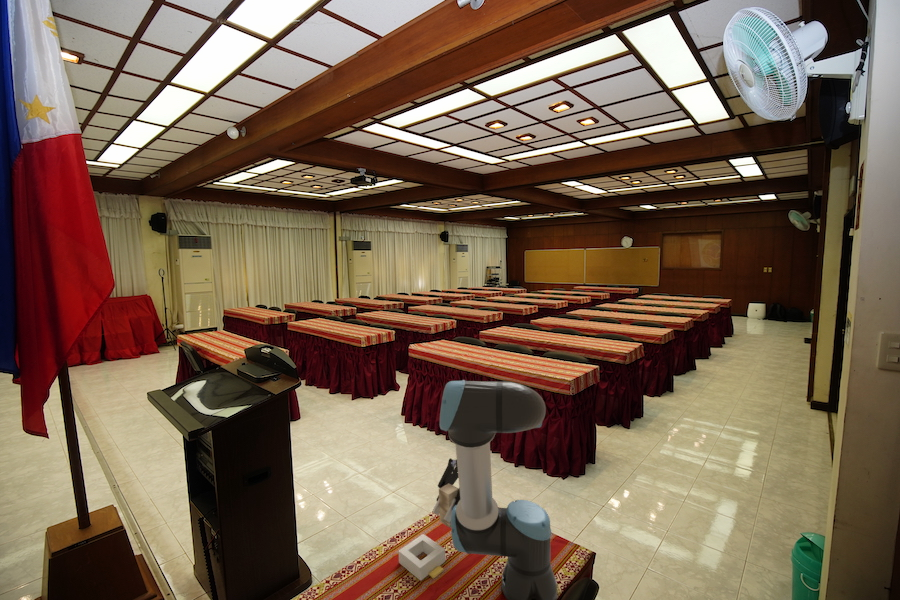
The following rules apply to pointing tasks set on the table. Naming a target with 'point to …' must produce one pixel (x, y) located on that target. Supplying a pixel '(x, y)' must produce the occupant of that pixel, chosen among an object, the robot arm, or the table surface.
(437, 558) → the socket block
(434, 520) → the table surface
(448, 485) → the beech peg
